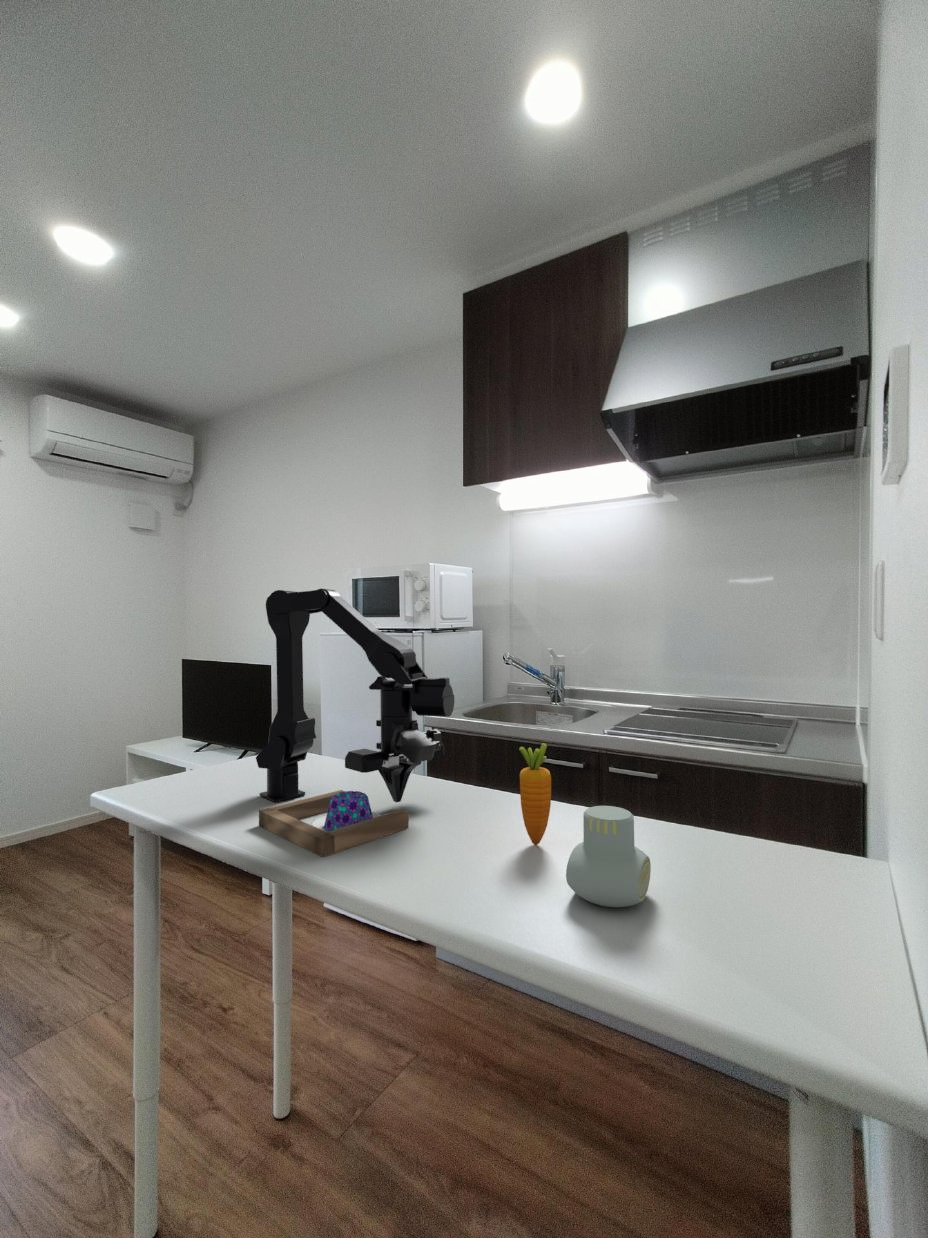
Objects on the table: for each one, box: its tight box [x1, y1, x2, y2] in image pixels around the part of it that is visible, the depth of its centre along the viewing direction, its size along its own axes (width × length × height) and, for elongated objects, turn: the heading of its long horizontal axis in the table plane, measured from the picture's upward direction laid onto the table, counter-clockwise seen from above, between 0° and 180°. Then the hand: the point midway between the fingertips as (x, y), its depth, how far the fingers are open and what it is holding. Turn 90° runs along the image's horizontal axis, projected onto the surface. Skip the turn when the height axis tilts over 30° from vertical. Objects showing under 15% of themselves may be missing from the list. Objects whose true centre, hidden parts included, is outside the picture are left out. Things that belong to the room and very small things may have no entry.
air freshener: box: [565, 805, 652, 909], centre depth 68 cm, size 11×8×10 cm
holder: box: [258, 789, 410, 858], centre depth 92 cm, size 19×16×2 cm
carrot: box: [518, 742, 552, 846], centre depth 84 cm, size 5×5×15 cm
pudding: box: [311, 790, 382, 832], centre depth 93 cm, size 12×12×5 cm
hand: (397, 801), depth 102 cm, fingers closed
